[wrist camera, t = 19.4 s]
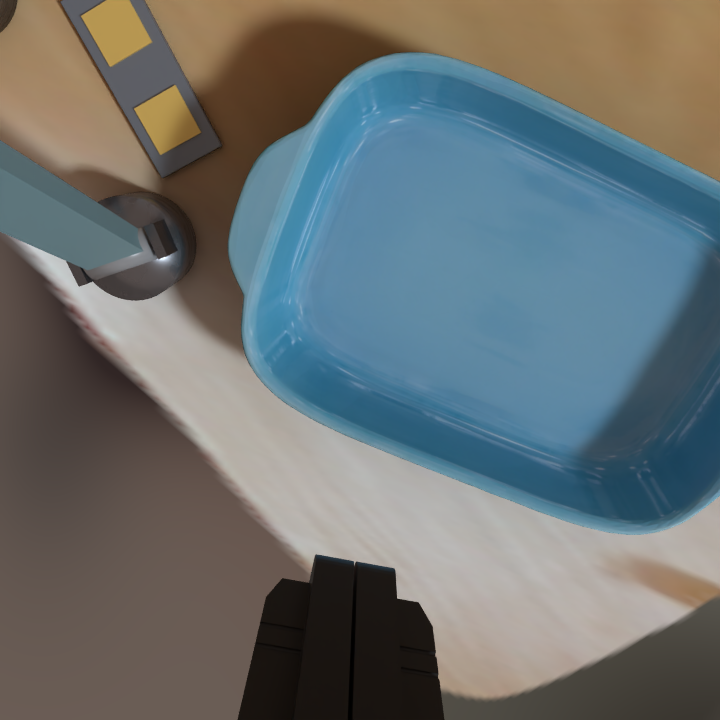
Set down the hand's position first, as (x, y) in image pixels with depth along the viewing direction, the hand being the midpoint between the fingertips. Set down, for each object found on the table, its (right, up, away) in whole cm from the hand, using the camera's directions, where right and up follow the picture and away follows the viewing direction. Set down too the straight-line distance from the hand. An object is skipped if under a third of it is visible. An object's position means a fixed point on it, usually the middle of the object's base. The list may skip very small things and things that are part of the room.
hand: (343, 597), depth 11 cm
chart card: (-13, +22, +25) cm, 36 cm away
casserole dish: (+11, +9, +30) cm, 33 cm away
